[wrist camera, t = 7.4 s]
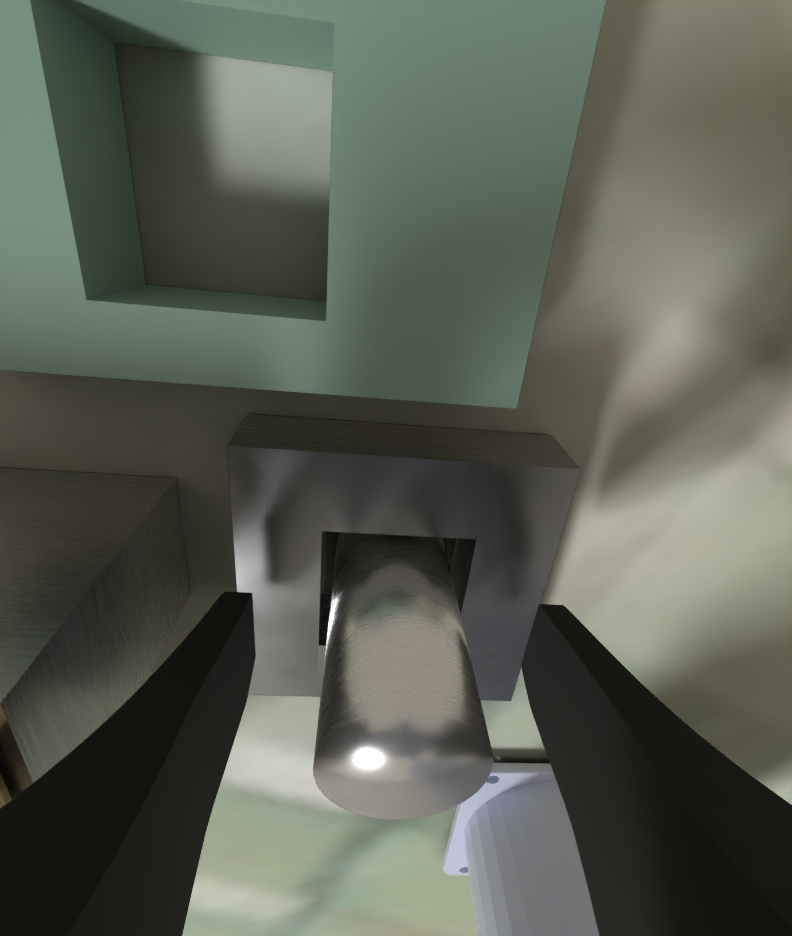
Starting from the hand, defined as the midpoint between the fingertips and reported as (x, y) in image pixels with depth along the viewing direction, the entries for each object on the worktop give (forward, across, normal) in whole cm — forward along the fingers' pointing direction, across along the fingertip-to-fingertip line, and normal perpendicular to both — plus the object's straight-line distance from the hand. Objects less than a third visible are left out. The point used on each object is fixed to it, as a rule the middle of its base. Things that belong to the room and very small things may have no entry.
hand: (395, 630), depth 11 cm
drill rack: (+3, +4, -9) cm, 10 cm away
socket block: (+3, 0, 0) cm, 3 cm away
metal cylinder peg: (+3, 0, 0) cm, 3 cm away
